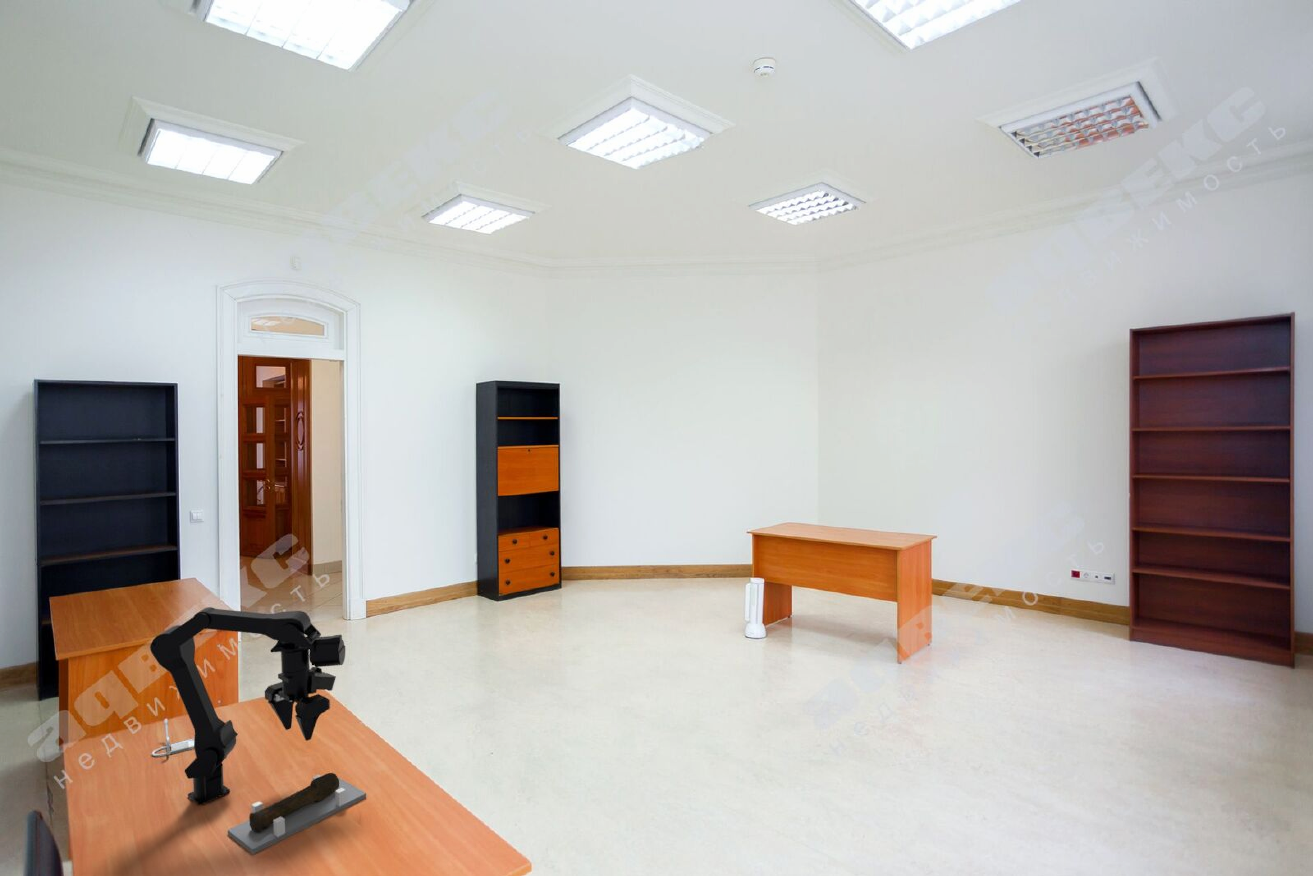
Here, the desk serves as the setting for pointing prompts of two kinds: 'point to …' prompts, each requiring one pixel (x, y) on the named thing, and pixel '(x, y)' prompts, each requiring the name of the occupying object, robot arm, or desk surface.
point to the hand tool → (295, 801)
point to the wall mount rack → (174, 747)
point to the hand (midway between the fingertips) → (298, 734)
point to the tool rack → (295, 818)
